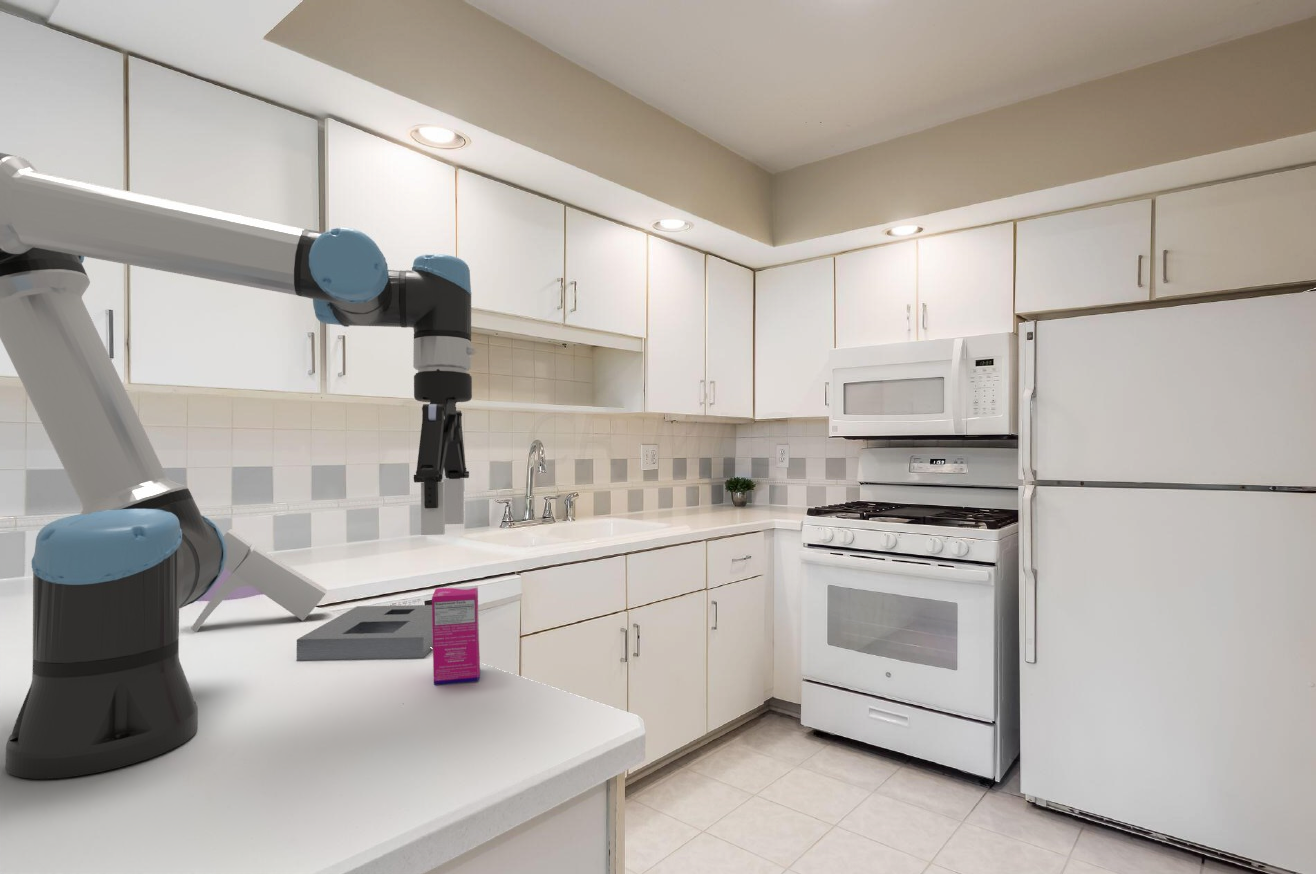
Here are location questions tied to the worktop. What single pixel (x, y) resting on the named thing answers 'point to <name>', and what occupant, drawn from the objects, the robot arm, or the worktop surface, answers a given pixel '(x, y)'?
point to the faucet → (263, 580)
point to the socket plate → (371, 634)
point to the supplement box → (455, 635)
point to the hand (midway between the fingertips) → (444, 529)
